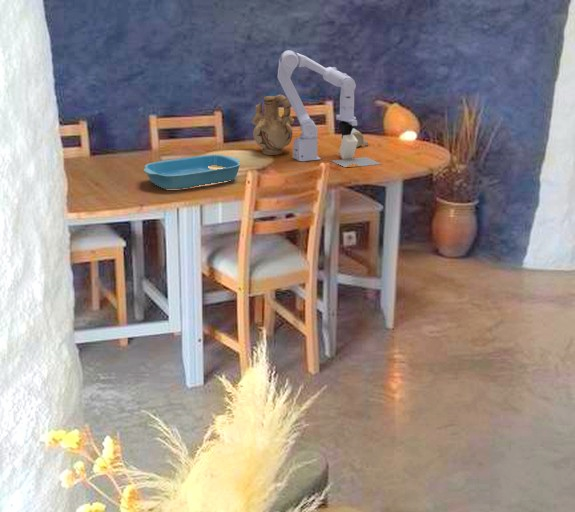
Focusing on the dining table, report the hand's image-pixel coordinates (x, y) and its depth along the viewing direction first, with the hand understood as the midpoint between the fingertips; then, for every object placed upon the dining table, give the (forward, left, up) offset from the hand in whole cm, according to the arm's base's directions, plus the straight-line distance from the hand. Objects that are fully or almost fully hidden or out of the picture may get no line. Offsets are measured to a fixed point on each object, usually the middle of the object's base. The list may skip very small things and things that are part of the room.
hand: (346, 140), depth 360 cm
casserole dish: (-70, -12, -8) cm, 71 cm away
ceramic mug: (+15, +19, -8) cm, 25 cm away
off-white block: (0, 0, -6) cm, 7 cm away
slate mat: (0, -9, -7) cm, 12 cm away
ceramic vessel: (-24, +21, -8) cm, 32 cm away
